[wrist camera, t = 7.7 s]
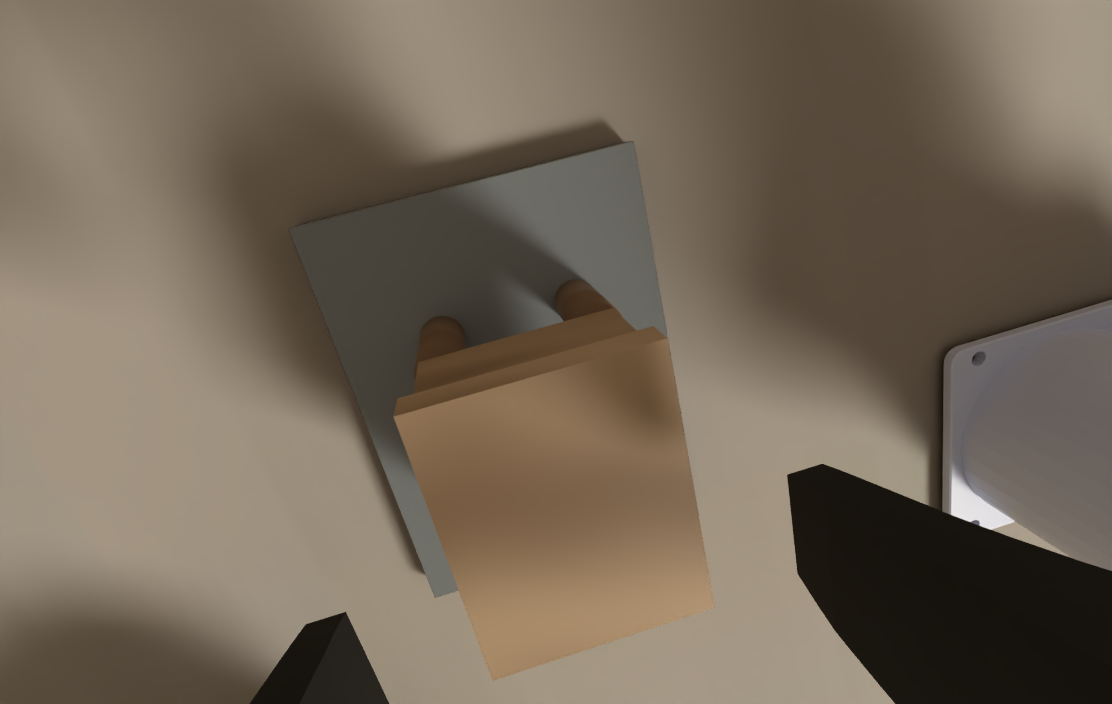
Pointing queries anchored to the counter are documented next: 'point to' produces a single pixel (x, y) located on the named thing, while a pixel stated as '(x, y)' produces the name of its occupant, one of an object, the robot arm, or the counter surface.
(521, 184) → the slate mat
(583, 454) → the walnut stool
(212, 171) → the counter surface
